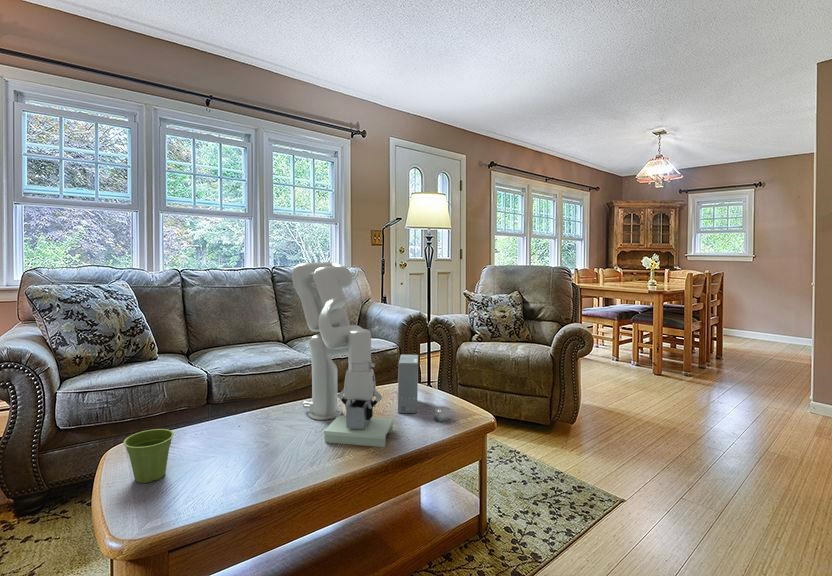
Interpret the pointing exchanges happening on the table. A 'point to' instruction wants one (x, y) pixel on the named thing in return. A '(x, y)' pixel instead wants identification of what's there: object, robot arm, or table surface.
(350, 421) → the housing
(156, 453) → the plant pot
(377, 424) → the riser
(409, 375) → the hard drive box
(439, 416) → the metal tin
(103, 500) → the table surface
